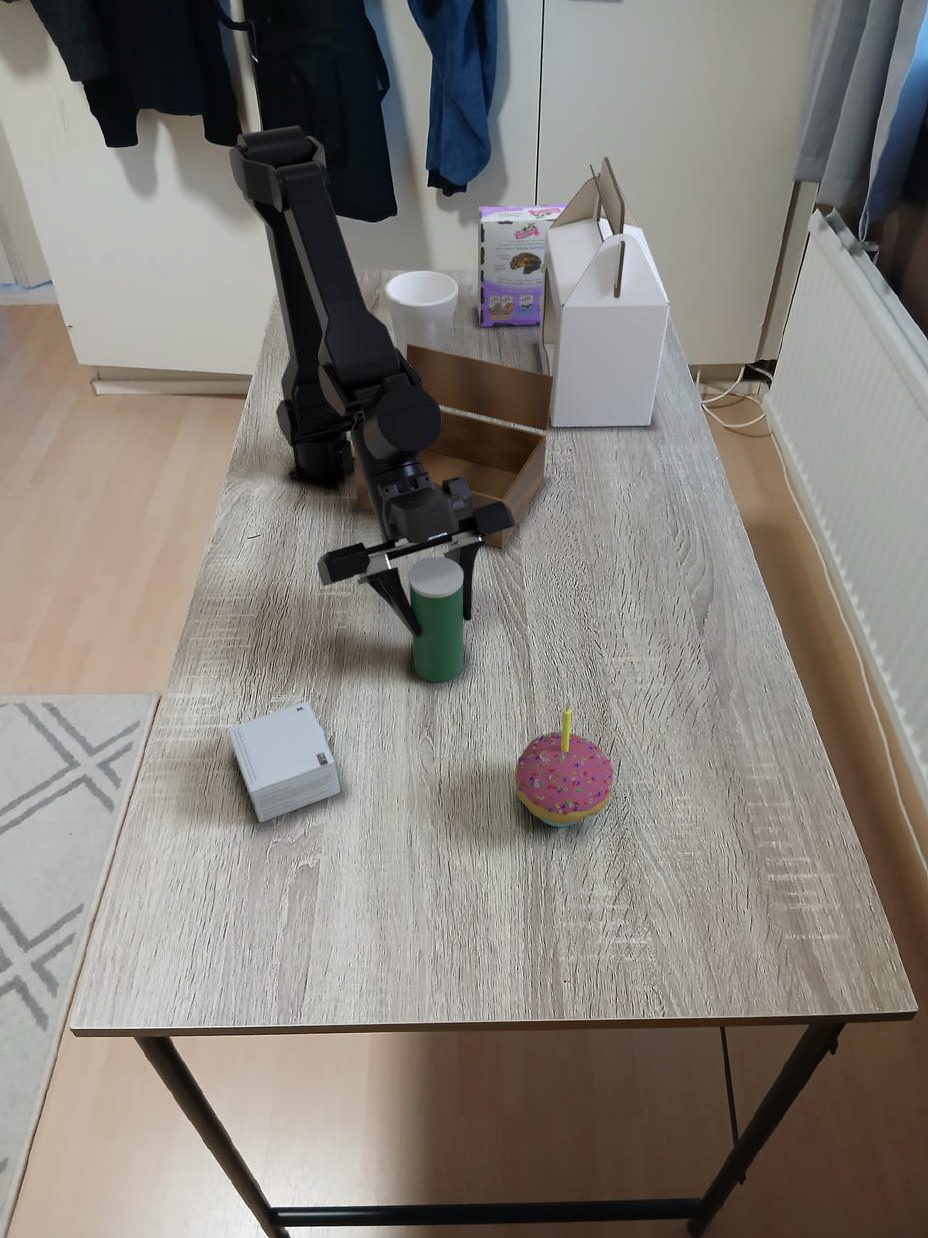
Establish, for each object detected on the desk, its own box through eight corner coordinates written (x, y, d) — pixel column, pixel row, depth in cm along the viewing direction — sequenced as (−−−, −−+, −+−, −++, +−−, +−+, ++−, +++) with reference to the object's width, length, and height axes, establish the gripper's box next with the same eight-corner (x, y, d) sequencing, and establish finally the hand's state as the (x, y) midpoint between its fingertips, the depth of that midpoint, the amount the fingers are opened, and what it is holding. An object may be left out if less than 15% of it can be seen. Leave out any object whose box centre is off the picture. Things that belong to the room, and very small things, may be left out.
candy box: (563, 306, 147) (571, 201, 136) (568, 325, 143) (577, 218, 132) (476, 309, 147) (477, 203, 135) (479, 327, 143) (480, 220, 131)
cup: (472, 367, 135) (472, 281, 125) (434, 399, 129) (431, 312, 119) (415, 348, 138) (412, 263, 129) (376, 379, 133) (369, 292, 123)
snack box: (358, 507, 112) (353, 461, 107) (408, 446, 121) (405, 400, 116) (502, 548, 107) (504, 501, 102) (543, 481, 116) (546, 435, 111)
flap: (406, 344, 112) (407, 343, 112) (405, 397, 116) (406, 396, 116) (553, 376, 106) (554, 376, 107) (546, 430, 110) (547, 430, 111)
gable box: (538, 344, 139) (550, 146, 119) (625, 342, 140) (652, 145, 119) (551, 429, 124) (568, 218, 104) (650, 427, 124) (686, 216, 104)
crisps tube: (405, 674, 94) (399, 584, 85) (426, 640, 97) (422, 550, 88) (451, 689, 92) (449, 600, 84) (471, 654, 96) (472, 565, 87)
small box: (235, 759, 87) (225, 725, 83) (316, 731, 89) (309, 697, 85) (258, 825, 82) (248, 793, 78) (342, 794, 84) (337, 761, 80)
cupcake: (507, 769, 86) (512, 685, 77) (598, 762, 86) (613, 678, 78) (519, 851, 80) (525, 770, 71) (616, 843, 80) (634, 762, 72)
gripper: (312, 484, 78) (368, 660, 79) (510, 429, 83) (561, 595, 84) (295, 504, 88) (345, 659, 89) (472, 454, 94) (517, 601, 95)
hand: (442, 628), depth 89 cm, fingers closed on crisps tube, 5 cm apart
